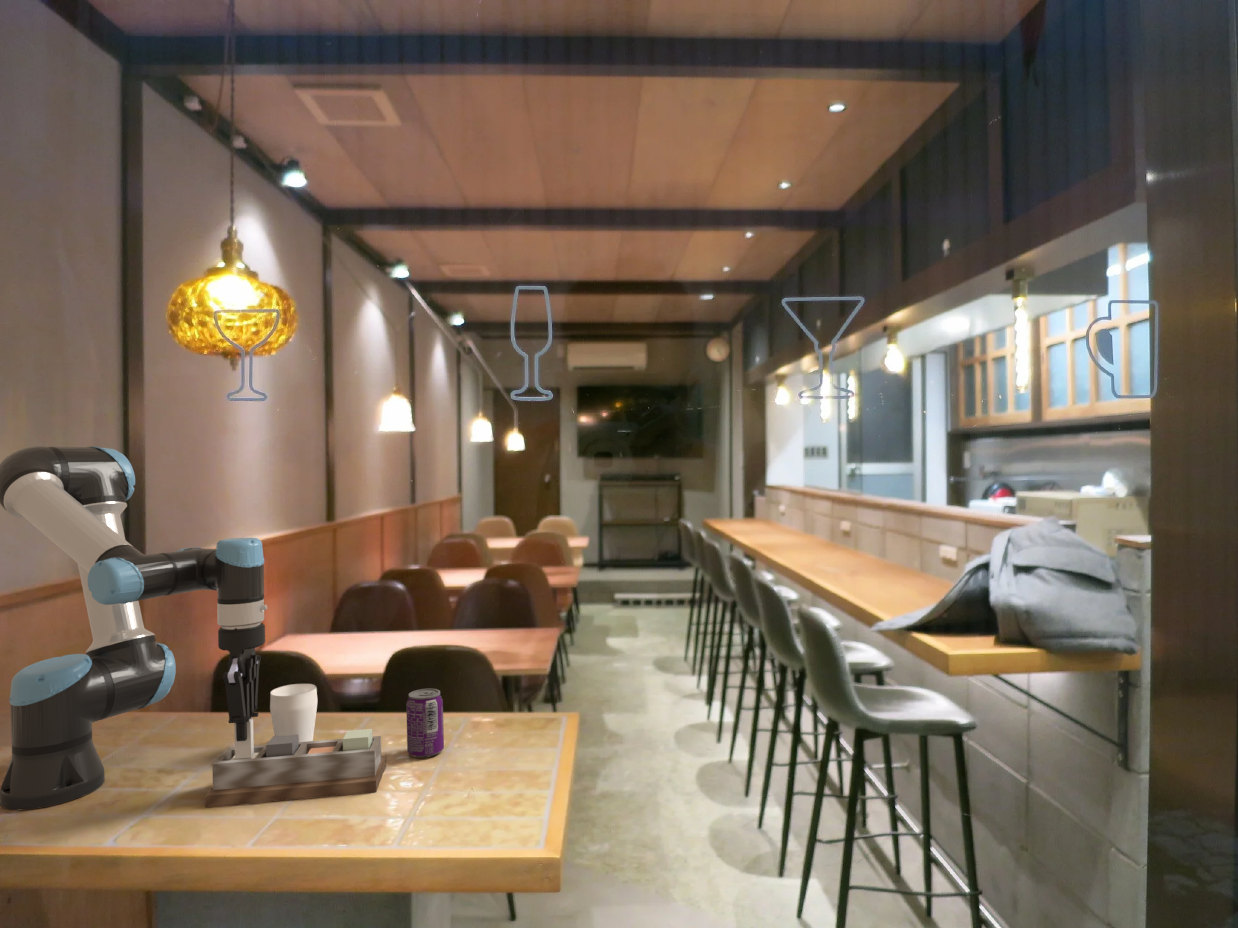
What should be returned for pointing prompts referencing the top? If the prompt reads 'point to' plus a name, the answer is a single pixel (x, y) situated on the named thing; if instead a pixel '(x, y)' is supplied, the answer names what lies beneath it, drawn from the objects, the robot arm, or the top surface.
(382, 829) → the top surface
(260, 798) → the slotted block tray
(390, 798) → the top surface
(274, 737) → the key charcoal
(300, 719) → the cup
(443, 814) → the top surface
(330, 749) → the key terracotta
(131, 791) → the top surface
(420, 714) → the beverage can
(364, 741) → the key sage
